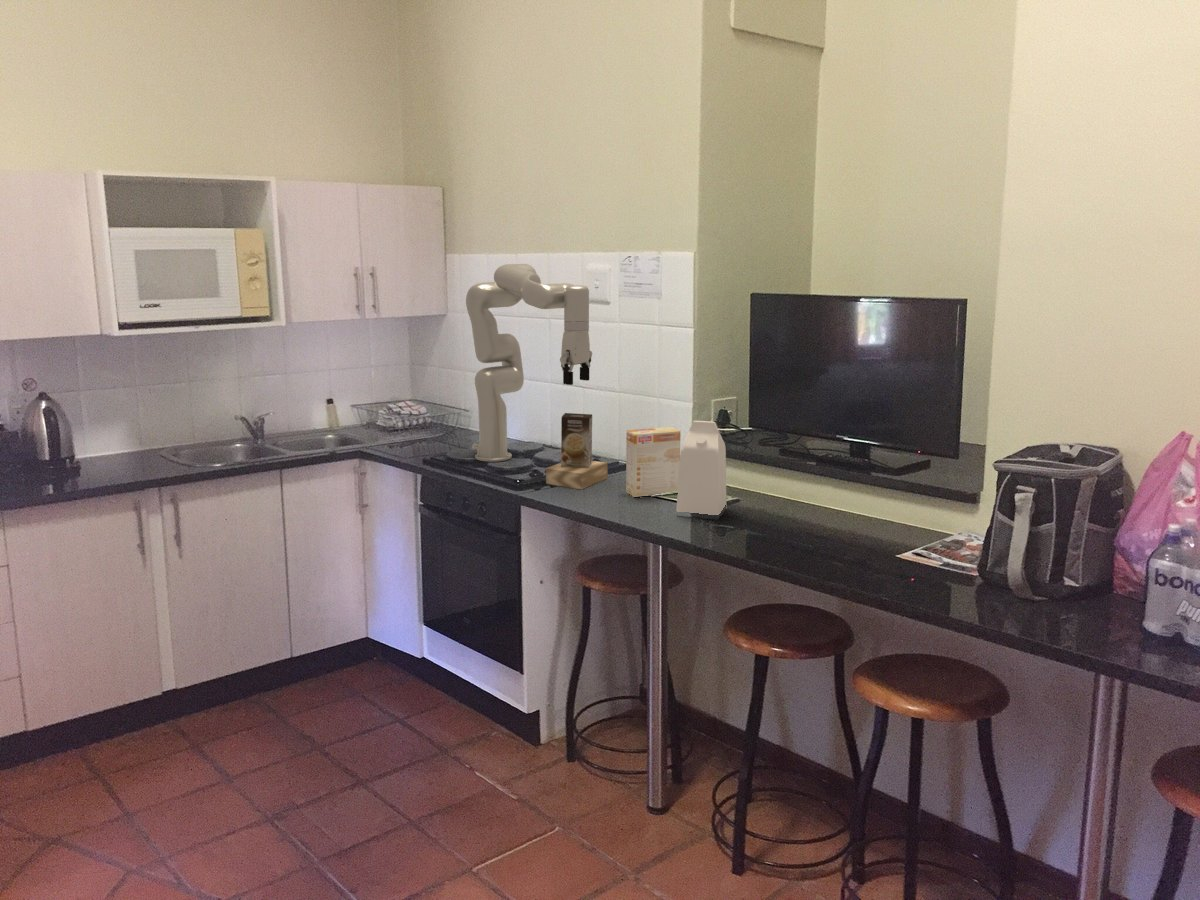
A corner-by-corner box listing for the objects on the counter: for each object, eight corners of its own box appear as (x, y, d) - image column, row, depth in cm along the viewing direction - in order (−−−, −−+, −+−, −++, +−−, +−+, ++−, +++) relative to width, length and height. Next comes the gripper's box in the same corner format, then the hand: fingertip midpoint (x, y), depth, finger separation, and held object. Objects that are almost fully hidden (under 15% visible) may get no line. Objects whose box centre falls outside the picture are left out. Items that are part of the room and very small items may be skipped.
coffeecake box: (671, 488, 296) (672, 426, 292) (680, 494, 290) (681, 430, 285) (625, 492, 291) (625, 429, 287) (633, 498, 285) (634, 433, 280)
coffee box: (560, 467, 301) (559, 416, 298) (564, 462, 308) (564, 412, 304) (589, 468, 300) (589, 417, 296) (592, 463, 306) (592, 413, 303)
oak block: (546, 483, 301) (545, 468, 300) (572, 472, 315) (572, 458, 313) (581, 489, 295) (581, 473, 294) (607, 478, 308) (607, 462, 307)
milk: (726, 508, 275) (729, 419, 269) (718, 520, 264) (721, 426, 258) (685, 505, 278) (687, 416, 273) (675, 516, 268) (677, 424, 262)
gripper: (580, 323, 303) (580, 377, 307) (550, 328, 288) (551, 385, 292) (601, 324, 299) (600, 379, 303) (572, 329, 285) (572, 387, 289)
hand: (576, 382), depth 298 cm, fingers open, 9 cm apart
